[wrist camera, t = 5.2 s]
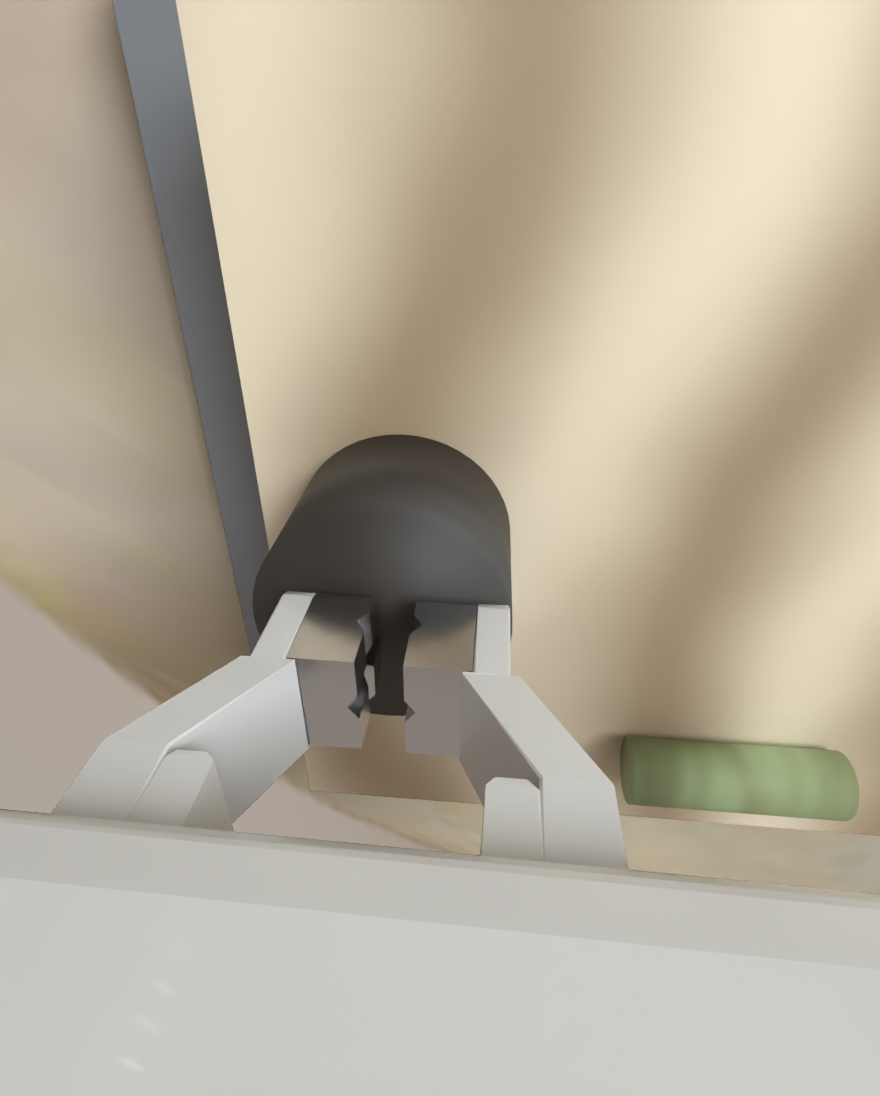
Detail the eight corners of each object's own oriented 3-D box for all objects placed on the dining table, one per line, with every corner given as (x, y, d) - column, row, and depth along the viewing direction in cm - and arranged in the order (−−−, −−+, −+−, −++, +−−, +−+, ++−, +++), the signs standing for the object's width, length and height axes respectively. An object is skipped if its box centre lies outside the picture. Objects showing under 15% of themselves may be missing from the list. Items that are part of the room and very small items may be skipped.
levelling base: (1500, -70, 10) (1893, -162, 7) (950, 735, 21) (1020, 829, 18) (141, -42, 12) (23, -104, 9) (276, 675, 23) (240, 750, 20)
